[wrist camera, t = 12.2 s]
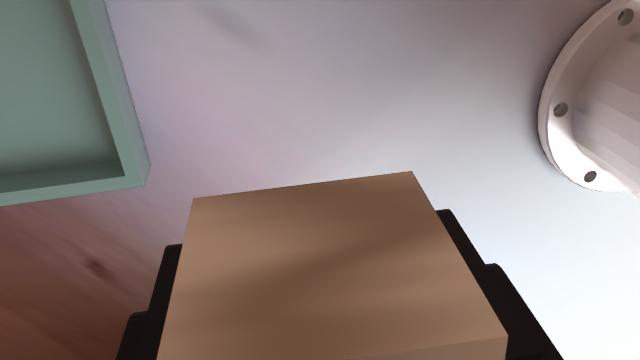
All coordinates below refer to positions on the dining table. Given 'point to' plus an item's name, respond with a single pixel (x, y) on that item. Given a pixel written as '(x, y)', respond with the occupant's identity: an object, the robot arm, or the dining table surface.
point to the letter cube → (326, 278)
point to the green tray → (64, 104)
